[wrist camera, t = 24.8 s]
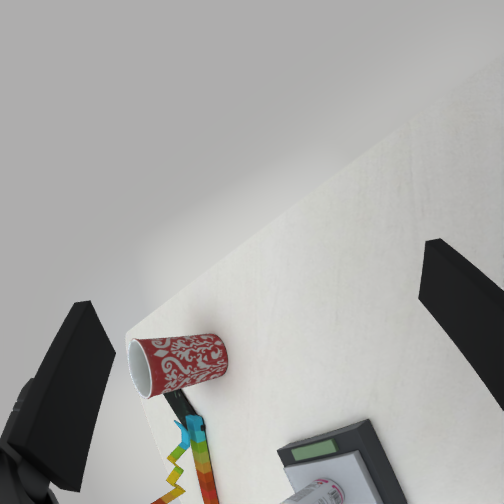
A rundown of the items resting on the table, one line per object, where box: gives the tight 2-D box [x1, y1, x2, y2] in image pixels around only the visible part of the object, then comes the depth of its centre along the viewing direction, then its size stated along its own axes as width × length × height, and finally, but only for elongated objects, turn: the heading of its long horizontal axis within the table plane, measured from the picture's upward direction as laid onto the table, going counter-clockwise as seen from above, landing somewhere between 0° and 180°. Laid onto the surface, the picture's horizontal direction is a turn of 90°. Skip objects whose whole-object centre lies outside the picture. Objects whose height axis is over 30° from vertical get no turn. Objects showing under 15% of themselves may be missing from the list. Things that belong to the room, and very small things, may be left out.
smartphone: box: [163, 389, 205, 431], centre depth 60 cm, size 7×1×15 cm
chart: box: [151, 415, 219, 504], centre depth 49 cm, size 30×3×15 cm, turn 9°
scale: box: [277, 419, 407, 504], centre depth 30 cm, size 14×14×4 cm
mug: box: [128, 334, 228, 399], centre depth 48 cm, size 13×9×14 cm
